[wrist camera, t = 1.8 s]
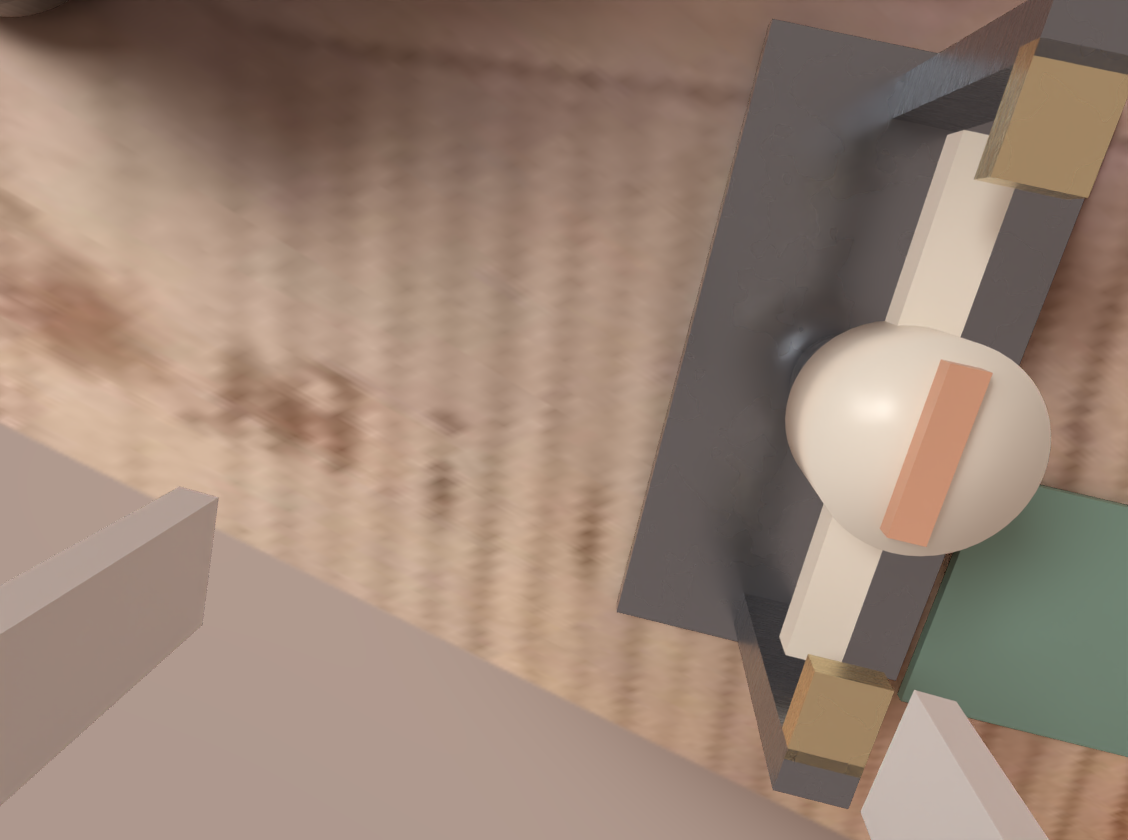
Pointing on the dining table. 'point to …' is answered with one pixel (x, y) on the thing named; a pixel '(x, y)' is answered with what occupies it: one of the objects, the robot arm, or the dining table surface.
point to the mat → (1036, 625)
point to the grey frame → (837, 304)
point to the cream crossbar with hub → (913, 417)
